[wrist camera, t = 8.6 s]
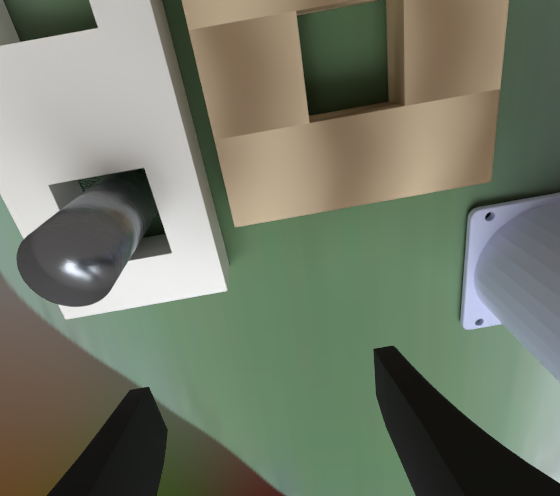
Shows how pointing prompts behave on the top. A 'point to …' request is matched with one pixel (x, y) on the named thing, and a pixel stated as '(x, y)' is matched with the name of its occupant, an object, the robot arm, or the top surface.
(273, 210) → the socket block
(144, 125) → the tool rack
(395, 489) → the top surface
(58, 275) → the steel peg
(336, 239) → the top surface
